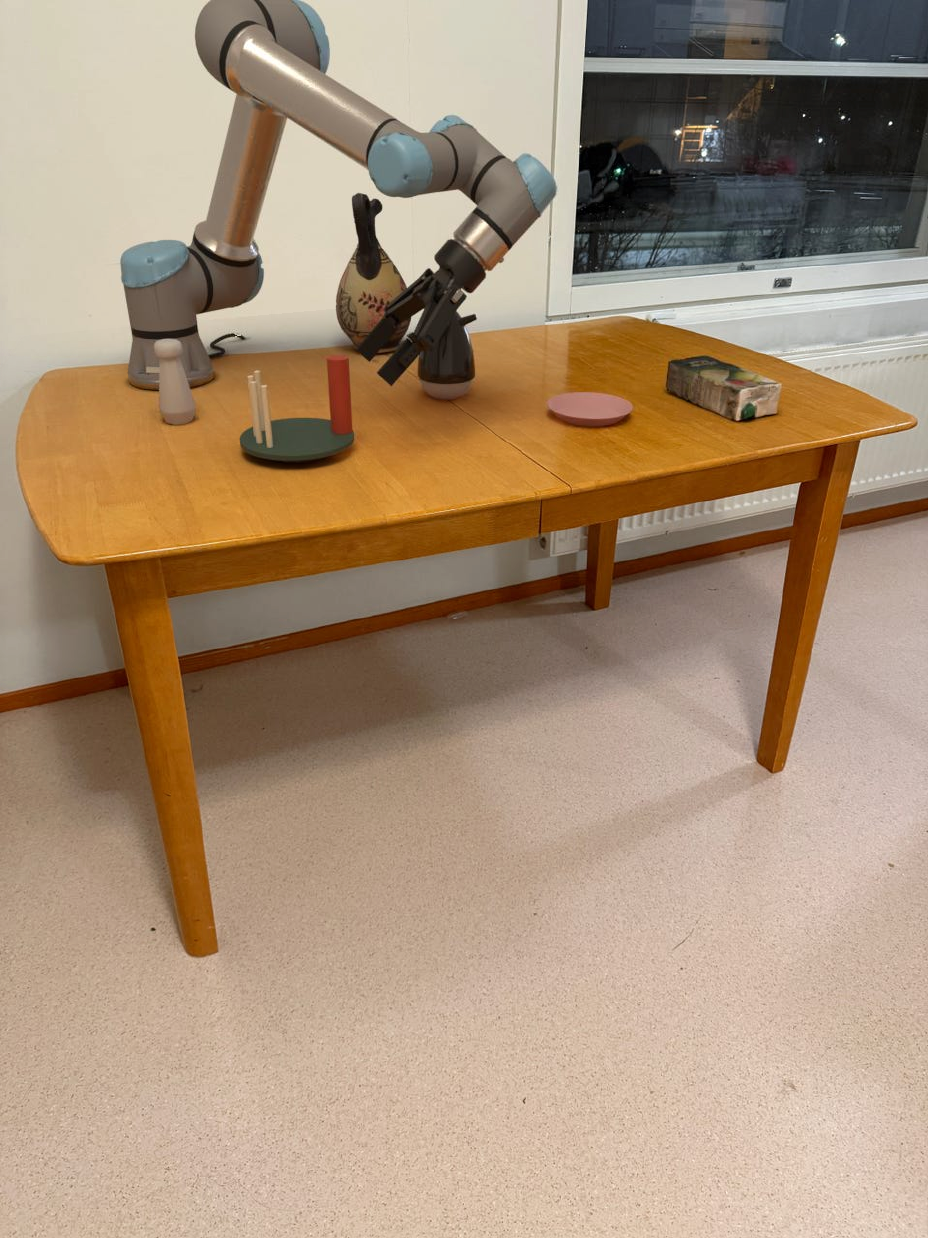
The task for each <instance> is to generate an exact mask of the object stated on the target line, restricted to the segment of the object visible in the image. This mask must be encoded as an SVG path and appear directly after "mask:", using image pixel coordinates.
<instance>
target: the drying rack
mask: <svg viewBox="0 0 928 1238" xmlns="http://www.w3.org/2000/svg"><path fill="white" fill-rule="evenodd" d="M326 368H327V369H326V371H327V385H328V387H327V388H328V399H329V400H328V403H329V416H330V419H327V418H319V417H290V418H289V417H288V418H287V417H286V418H280V419H274V420H271V411H270V409H271V408H270V399H269V389H268V385H267V384H262V377H261V371H260V370H254V371H253V375H247V377H246V378H247V385H248V394H249V395H248V396H249V403H250V414H251V423H252V426H250V427H249V428H247V429H245V430H244V431H243V432H242V433H241V434H240V436H239V445H240V448H241V450H243V451H244V452H245V453H247V454H249V455H251V456H253V457H256V458H259V459H264V460H272V461H276V460H281V461H300V460H311V459H318V458H321V459H323V458H328V457H330V456H335V455H337V454H339V453H342V452H344V451H346V450H348V449H350V447H352V445H353V444H354V442H355V431H354V430H353V414H352V412H353V411H352V395H351V394H352V393H351V375H350V358H349V356H348V355H346V354H330V355H327V356H326ZM318 460H319V459H318ZM281 461H280V462H281Z"/></svg>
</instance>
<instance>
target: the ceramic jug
mask: <svg viewBox="0 0 928 1238" xmlns="http://www.w3.org/2000/svg"><path fill="white" fill-rule="evenodd" d="M351 207H352V208H351V209H352V216H353V219H354V220H353V221H354V226H355V234H356V236H357V241H358V242H357V244H356V248H355V249H354V251H353V253H352V256H351V257H350V259H349V261H348V263H347V264H346V267H345V269H344V272H343V273H342V275H341V277H340V280H339V283H338V286H337V292H336V296H335V313H336V314H335V315H336V319H337V322H338V324H339V326H340V329H341V330H342V331H343V333H344V334H345V335H346V336H347V337H348V338H349V340H350V341H351V342H352V345H353V346H354V348H355V349H356V348H357V347H358V346H359V345H360V344H361V343H362V341H363V340H364V339H365V338H366V337H367V336H368V334H369V333H370V332H371V331H372V330H373V329H374V328H375V326H376V325H377V324H378V323H379V322H380V321H381V319H382V318H383V317H384V314H385V311H384V307H385V306H387V305H388V304H389V303H390V302H391V301H392V300H394V299H395V298H396V297H397V296H398V295H399V294H401V293H402V292H403V291H404V290H405V289H407V288H408V287H407V284H406V282H405V280H404V278H403V276H402V275H401V273H400V271H399V270H398V267H397V265H396V264H394V262H393V261H392V259H391V257H390V255H388V253H387V252H386V251H385V250H384V249H383V247H382V245H381V244H380V242H379V238H378V237H377V234H376V217H377V216H378V215H379V214H380V213H381V212H382V211H383V204H382V201H380V200H379V199H378V198H372V199H371V200H370V197H369V196H368V195H367V194H366V193H361V192H356V194H354V195H352V196H351ZM384 318H385V317H384ZM411 321H412V317H410V318H409V319H407V320H406V321H404V322H403V323H401V328H400V330H397V331H396V332H395V333H394V334H393V336H392V337H391V338H390V339H389V340H388V341H387V342H386V344H385V345H384V346H383V347H382V348H381V349H380V351H379V352H378V353H377V354H380V353H389V352H390V353H391V352H395V351H396V350H397V349H398V348H399V346H400V345H401V341H402V340H403V338H404V337H405V336H406V335H407V332H408V331H409V328H410V325H411Z"/></svg>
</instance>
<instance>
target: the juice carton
mask: <svg viewBox="0 0 928 1238" xmlns="http://www.w3.org/2000/svg"><path fill="white" fill-rule="evenodd" d="M782 385H783V383H781V382H779V381H776V380H774V379H771V378H769V377H765V376H764V375H761V374H758V373H756V372H754V371H751V370H749V369H746V368H743V367H740V366H737V365H735V364H732V363H730V362H726V361H721V360H719V359H718V358H715V357H713V356H710V355H706V354H705V355H704V354H703V355H698V356H691V357H686V358H680V359H678V358H677V359H676V358H675V359H672V360H669V361H668V362H667V373H666V382H665V388H666V391H667V392H671V391H673V392H674V394H676V395H677V396H678V397H679V398H683V399H685V400H686V401H689V402H690V403H692V404H693V405H698V406H700V407H701V408H702V409H706V410H708V411H711V412H713V413H717V414H718V415H720V416H722V417H724V418H726V419H728V420H734V421H736V422H738V421H742V420H746V419H749V418H751V417H752V418H755V419H757V418H760V417H763V416H768V415H776V414H777V413H778V406H779V402H780V398H781V391H782Z"/></svg>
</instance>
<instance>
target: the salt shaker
mask: <svg viewBox="0 0 928 1238" xmlns="http://www.w3.org/2000/svg"><path fill="white" fill-rule="evenodd" d="M154 351H155V355H156V356H157V357H160V365H159V390H158V411H159V413H160V414H161V417H162V418H163V420H164V422H165V423H166V424H168V425H173V426H178V425H186V424H188V423H190V422H192V421H193V419H194V416H195V413H196V407H197V406H196V402H195V399H194V396H193V393H192V390H191V387H189V384H188V381H187V378H186V375H185V372H184V369H183V366H182V363H181V359H180V355H182V353H183V349H182V345H181V342H180V341H178V340H176V339H161V340H158V341H156V342H155V344H154Z"/></svg>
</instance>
